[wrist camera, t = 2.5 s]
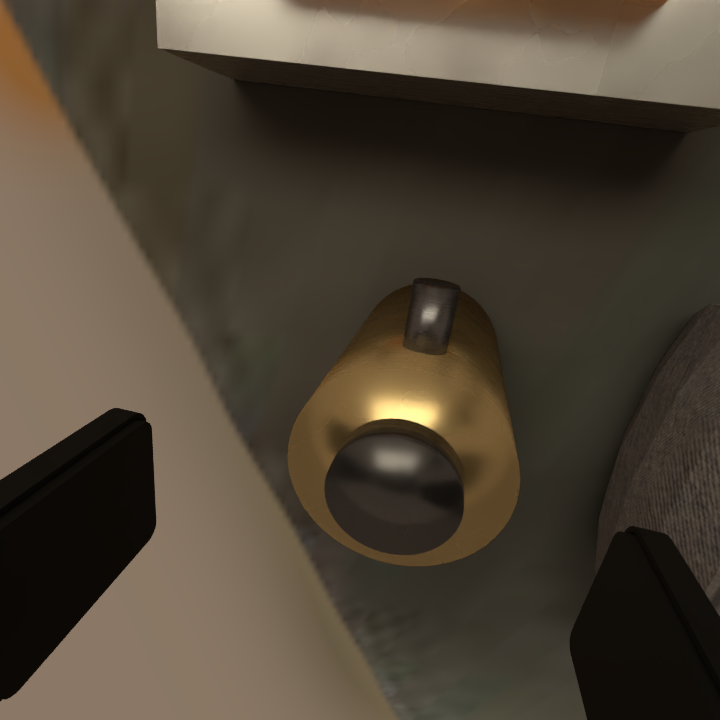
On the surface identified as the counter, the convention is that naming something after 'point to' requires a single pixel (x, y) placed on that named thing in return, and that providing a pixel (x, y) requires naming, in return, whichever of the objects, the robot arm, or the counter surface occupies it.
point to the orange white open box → (471, 53)
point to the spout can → (411, 433)
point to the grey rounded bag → (674, 456)
